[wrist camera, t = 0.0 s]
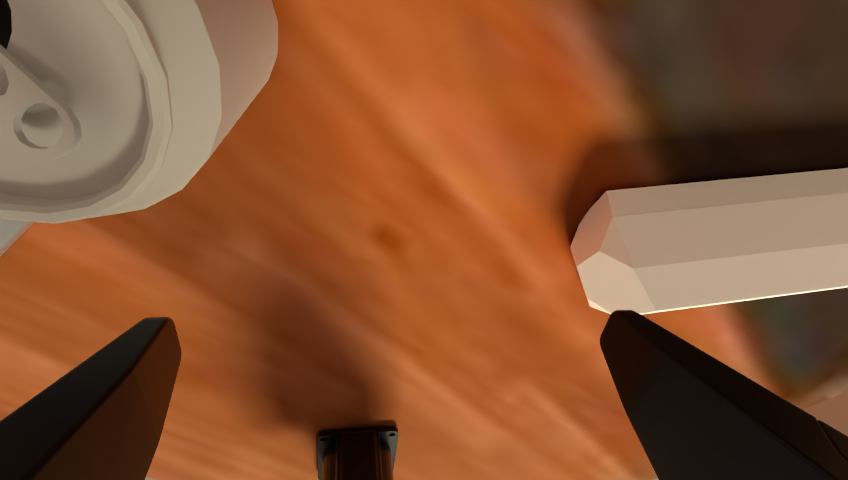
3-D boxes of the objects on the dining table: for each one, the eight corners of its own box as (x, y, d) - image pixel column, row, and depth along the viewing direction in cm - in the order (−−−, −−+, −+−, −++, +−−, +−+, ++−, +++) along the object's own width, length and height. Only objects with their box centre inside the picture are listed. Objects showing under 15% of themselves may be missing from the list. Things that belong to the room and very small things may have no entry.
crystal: (1005, 151, 23) (606, 189, 21) (1008, 277, 24) (616, 330, 21) (854, 168, 31) (545, 197, 28) (858, 264, 31) (553, 302, 28)
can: (174, -147, 15) (-193, -403, 5) (318, 43, 19) (282, 125, 9) (38, -10, 16) (-467, 16, 6) (198, 140, 20) (48, 306, 10)
